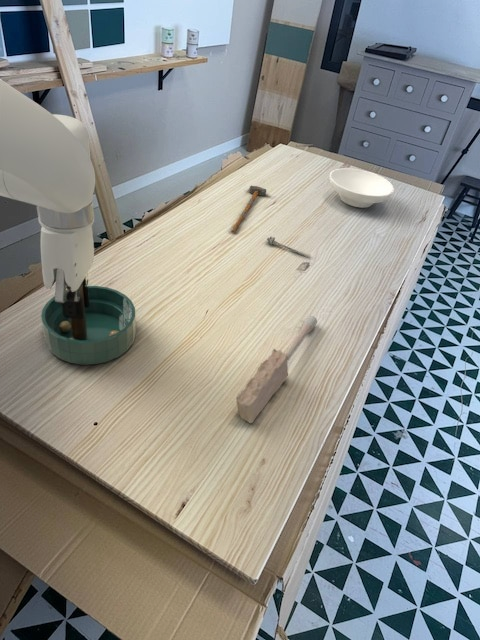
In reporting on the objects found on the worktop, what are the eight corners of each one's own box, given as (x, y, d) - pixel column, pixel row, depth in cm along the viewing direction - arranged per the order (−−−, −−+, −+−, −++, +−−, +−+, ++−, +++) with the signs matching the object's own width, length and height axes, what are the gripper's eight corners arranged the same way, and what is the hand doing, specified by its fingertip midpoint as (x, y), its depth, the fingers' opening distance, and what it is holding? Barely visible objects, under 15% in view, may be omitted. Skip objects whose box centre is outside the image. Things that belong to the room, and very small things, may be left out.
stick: (76, 342, 79) (70, 290, 73) (70, 334, 81) (63, 282, 74) (89, 336, 81) (85, 285, 74) (83, 329, 82) (77, 278, 75)
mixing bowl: (71, 380, 74) (67, 355, 71) (30, 327, 82) (25, 302, 79) (151, 344, 83) (152, 321, 80) (108, 299, 91) (107, 276, 88)
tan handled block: (299, 307, 94) (237, 383, 69) (320, 313, 92) (264, 393, 68) (293, 339, 97) (232, 422, 73) (313, 345, 96) (257, 432, 71)
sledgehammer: (223, 232, 119) (241, 237, 118) (223, 225, 117) (242, 230, 117) (250, 190, 139) (266, 194, 139) (250, 184, 138) (267, 188, 137)
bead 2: (109, 336, 80) (120, 340, 80) (112, 326, 81) (123, 330, 82) (106, 341, 81) (117, 345, 82) (109, 331, 82) (120, 335, 83)
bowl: (325, 183, 151) (331, 163, 147) (385, 196, 150) (392, 176, 146) (321, 208, 136) (328, 186, 132) (388, 223, 135) (396, 201, 131)
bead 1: (68, 318, 81) (70, 329, 80) (71, 320, 83) (73, 331, 82) (56, 321, 80) (58, 332, 80) (59, 323, 82) (62, 334, 82)
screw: (266, 243, 117) (269, 235, 117) (306, 261, 115) (309, 253, 115) (265, 241, 115) (268, 234, 115) (305, 259, 113) (309, 252, 113)
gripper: (59, 183, 72) (70, 280, 83) (14, 234, 59) (34, 340, 71) (108, 190, 72) (112, 286, 84) (73, 243, 60) (84, 347, 71)
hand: (76, 310), depth 77 cm, fingers closed on stick, 2 cm apart
